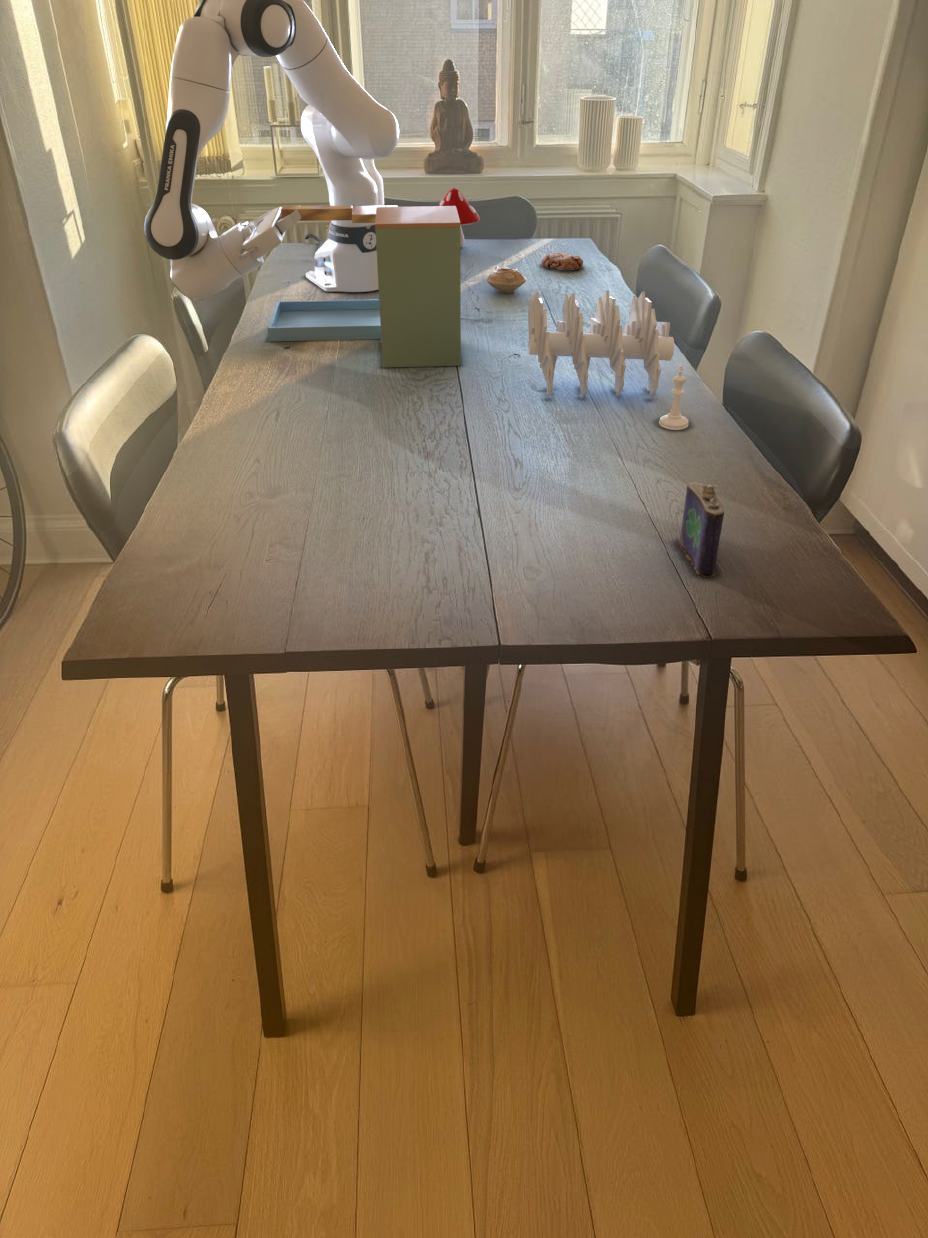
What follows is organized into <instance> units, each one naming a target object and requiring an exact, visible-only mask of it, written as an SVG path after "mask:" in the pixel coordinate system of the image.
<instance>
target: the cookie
mask: <svg viewBox="0 0 928 1238" xmlns="http://www.w3.org/2000/svg"><path fill="white" fill-rule="evenodd" d="M540 264H541V266H542V267H545V268H548V269H553V268H554V269H555V268H556V270H559V271H563V270H564V271H565V270H571V271H572V270H574V271H575V270H579V269H582V268H583V266H584V260H583V258H581V257H580V255H579V256H578V255H572V254H569V253H567V252H553V253H550V254H547V255H545V256H544V257H543V258H542V260H541V263H540Z"/></svg>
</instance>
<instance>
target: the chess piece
mask: <svg viewBox="0 0 928 1238" xmlns="http://www.w3.org/2000/svg"><path fill="white" fill-rule="evenodd" d="M683 370H684V366H683V365H679V369H678V374H677V375H675V376H673V379H672V380H673V383H674V384H673V385H674V388H673V389H671V392H670V393H671V394H672V395H673V401H672V404H671V407H670V411H669V412H668V413H667V414H665V415H662V416H660V418H659V421H658V425H659V427H661V428H664V429H665V430H672V431H679V430H680V431H682V430H685V429H687V428H688V427H689V423H690V422H689V419H688V418H687V417H686V416H683V414H681V396H683V395H685V390H684V389H683V387H684V385H685V383H686V380H687V378H686V377H685V376H684V375H683V372H684V371H683Z"/></svg>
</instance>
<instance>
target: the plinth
mask: <svg viewBox="0 0 928 1238" xmlns="http://www.w3.org/2000/svg"><path fill="white" fill-rule="evenodd" d="M375 228H376V248H377V267H378V287H379V289H378V299H379V306H380V326H381V339H380V345H381V363H382V364H381V365H382V368H385V369H386V368H424V367H425V368H426V367H428V368H429V367H460V366H461V365H462V341H461V340H462V335H461V334H462V328H461V326H462V323H461V322H462V318H461V317H462V315H461V313H462V310H461V302H462V301H461V300H462V299H461V297H462V296H461V295H462V294H461V291H462V290H461V286H462V285H461V284H462V283H461V281H462V280H461V247H460V220H459V216H458V212H457V209H456V206H438V205H429V206H428V205H427V206H426V205H425V206H424V205H423V206H420V205H419V206H415V205H414V206H397V207H376V221H375Z"/></svg>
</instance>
